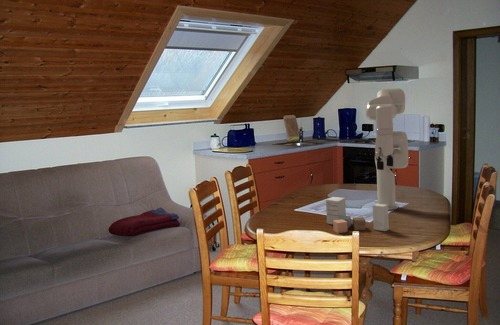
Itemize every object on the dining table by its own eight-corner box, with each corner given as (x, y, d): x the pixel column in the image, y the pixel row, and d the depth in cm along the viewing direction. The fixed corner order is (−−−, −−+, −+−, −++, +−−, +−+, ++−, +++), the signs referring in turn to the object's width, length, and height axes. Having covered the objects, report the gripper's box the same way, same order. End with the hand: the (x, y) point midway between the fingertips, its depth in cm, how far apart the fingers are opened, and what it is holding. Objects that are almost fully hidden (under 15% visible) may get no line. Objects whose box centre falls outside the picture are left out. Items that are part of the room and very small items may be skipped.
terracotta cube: (333, 230, 238) (333, 220, 238) (342, 229, 240) (342, 219, 239) (337, 233, 234) (337, 223, 233) (347, 231, 235) (347, 221, 234)
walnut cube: (353, 227, 241) (352, 217, 241) (363, 226, 241) (363, 217, 241) (355, 230, 236) (354, 220, 236) (365, 229, 236) (365, 219, 236)
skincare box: (389, 229, 235) (388, 204, 233) (384, 231, 231) (384, 206, 229) (377, 227, 239) (376, 203, 237) (372, 229, 236) (372, 205, 234)
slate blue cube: (340, 225, 246) (340, 215, 246) (350, 225, 244) (350, 216, 243) (338, 228, 242) (337, 218, 241) (348, 228, 240) (348, 218, 239)
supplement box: (333, 220, 256) (332, 196, 254) (346, 222, 251) (345, 197, 249) (326, 223, 250) (325, 199, 248) (339, 225, 245) (338, 200, 244)
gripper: (385, 129, 241) (386, 164, 244) (368, 134, 228) (369, 170, 231) (400, 129, 236) (400, 165, 239) (383, 134, 223) (384, 171, 226)
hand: (385, 167), depth 235 cm, fingers open, 9 cm apart
